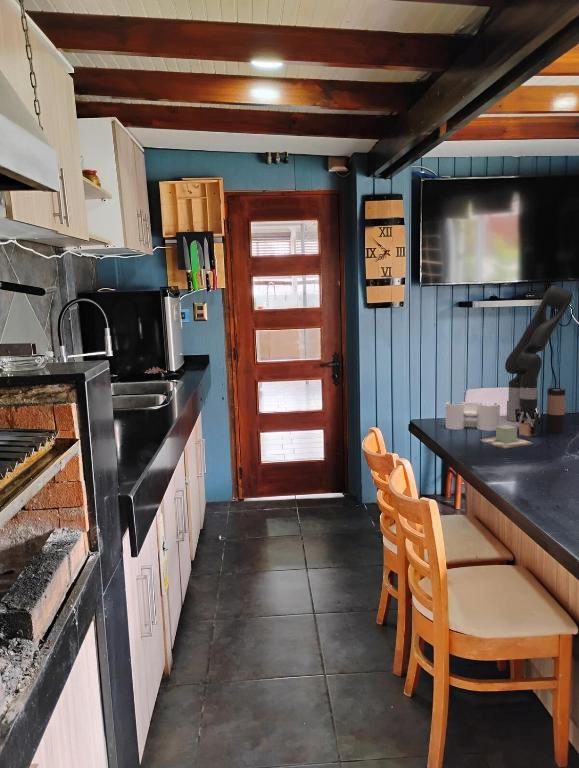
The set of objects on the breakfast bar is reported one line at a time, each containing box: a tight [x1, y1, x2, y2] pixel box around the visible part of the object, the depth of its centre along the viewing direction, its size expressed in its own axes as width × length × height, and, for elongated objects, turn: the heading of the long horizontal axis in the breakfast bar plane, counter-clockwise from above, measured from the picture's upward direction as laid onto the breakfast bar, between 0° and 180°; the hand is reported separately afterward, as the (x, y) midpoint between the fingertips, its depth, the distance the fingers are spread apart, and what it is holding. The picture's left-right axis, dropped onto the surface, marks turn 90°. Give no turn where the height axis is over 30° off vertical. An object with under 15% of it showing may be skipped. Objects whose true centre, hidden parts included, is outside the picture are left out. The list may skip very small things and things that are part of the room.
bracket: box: [445, 401, 501, 432], centre depth 276 cm, size 25×10×12 cm, turn 73°
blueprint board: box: [480, 436, 533, 449], centre depth 247 cm, size 15×15×1 cm
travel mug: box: [546, 387, 566, 435], centre depth 261 cm, size 8×8×20 cm
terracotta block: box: [518, 422, 537, 437], centre depth 259 cm, size 5×5×5 cm
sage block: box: [495, 424, 518, 443], centre depth 246 cm, size 6×6×6 cm
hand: (527, 433), depth 260 cm, fingers open, 6 cm apart
